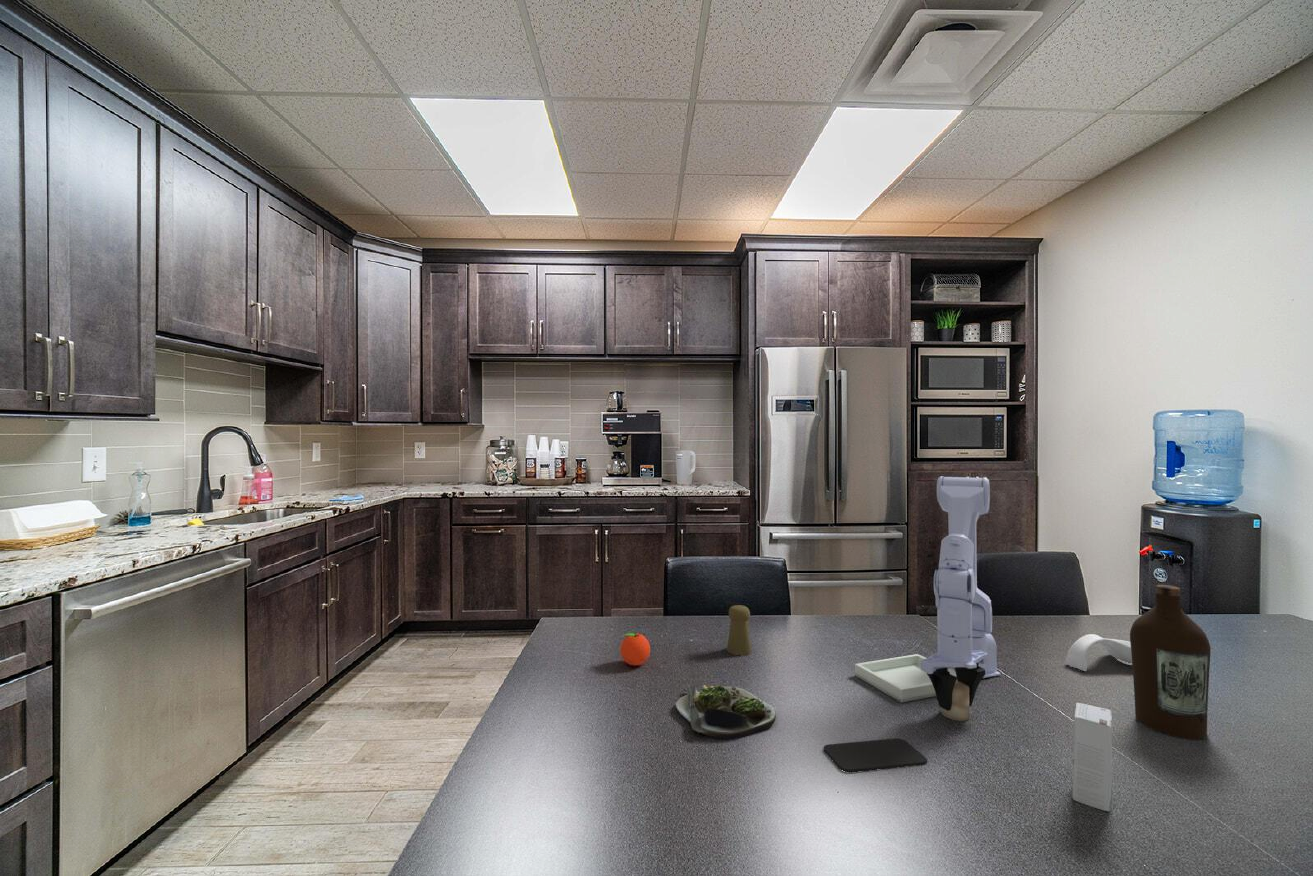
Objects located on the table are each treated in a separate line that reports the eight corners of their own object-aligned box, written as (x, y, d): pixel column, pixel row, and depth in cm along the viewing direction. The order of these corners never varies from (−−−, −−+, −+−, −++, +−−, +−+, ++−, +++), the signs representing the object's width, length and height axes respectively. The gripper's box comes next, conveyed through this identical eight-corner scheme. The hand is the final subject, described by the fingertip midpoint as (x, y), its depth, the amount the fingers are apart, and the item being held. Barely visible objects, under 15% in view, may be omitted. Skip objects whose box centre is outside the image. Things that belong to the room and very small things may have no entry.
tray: (917, 665, 126) (917, 654, 126) (969, 689, 113) (968, 677, 113) (854, 675, 120) (854, 664, 120) (901, 702, 107) (901, 689, 107)
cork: (751, 656, 131) (751, 610, 131) (726, 654, 132) (726, 609, 132) (752, 647, 137) (752, 603, 137) (727, 646, 138) (727, 602, 138)
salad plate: (653, 701, 108) (653, 678, 108) (729, 685, 116) (729, 663, 116) (703, 750, 91) (703, 722, 91) (789, 726, 99) (788, 701, 99)
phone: (931, 761, 86) (843, 770, 84) (931, 767, 86) (843, 776, 84) (901, 737, 94) (820, 744, 91) (901, 742, 94) (820, 750, 91)
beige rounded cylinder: (954, 707, 105) (954, 678, 105) (975, 718, 101) (975, 688, 101) (935, 711, 104) (935, 682, 104) (956, 722, 99) (956, 692, 100)
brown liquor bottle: (1119, 708, 105) (1117, 577, 106) (1188, 716, 102) (1186, 582, 102) (1150, 736, 95) (1148, 591, 95) (1227, 746, 92) (1225, 596, 92)
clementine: (610, 667, 125) (610, 635, 125) (623, 656, 131) (624, 626, 131) (643, 672, 122) (643, 640, 122) (654, 661, 128) (654, 630, 128)
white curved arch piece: (1127, 652, 135) (1126, 623, 135) (1183, 671, 123) (1182, 639, 124) (1051, 661, 129) (1050, 630, 129) (1102, 681, 118) (1102, 648, 118)
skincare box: (1074, 781, 82) (1073, 700, 82) (1113, 793, 79) (1112, 709, 79) (1071, 801, 77) (1070, 715, 78) (1113, 815, 74) (1111, 725, 75)
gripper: (942, 645, 96) (943, 722, 96) (1002, 635, 101) (1003, 709, 101) (911, 632, 103) (912, 704, 103) (969, 624, 108) (970, 693, 108)
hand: (955, 706), depth 102 cm, fingers closed on beige rounded cylinder, 5 cm apart
